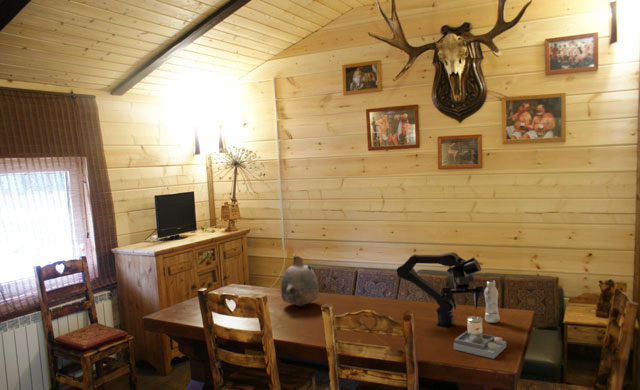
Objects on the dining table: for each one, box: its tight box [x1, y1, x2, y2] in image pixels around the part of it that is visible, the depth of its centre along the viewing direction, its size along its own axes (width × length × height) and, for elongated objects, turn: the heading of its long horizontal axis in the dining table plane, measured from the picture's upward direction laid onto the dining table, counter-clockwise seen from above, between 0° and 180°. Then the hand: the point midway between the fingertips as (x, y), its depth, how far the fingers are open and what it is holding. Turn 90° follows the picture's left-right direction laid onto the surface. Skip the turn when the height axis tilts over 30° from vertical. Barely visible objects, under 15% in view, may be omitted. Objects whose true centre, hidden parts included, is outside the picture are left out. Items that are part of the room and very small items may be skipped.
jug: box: [280, 253, 320, 307], centre depth 270 cm, size 24×21×30 cm
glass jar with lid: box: [466, 315, 483, 343], centre depth 200 cm, size 8×6×10 cm
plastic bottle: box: [483, 280, 500, 324], centre depth 230 cm, size 6×7×20 cm
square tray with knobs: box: [453, 329, 507, 359], centre depth 201 cm, size 17×14×4 cm
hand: (465, 308), depth 213 cm, fingers open, 9 cm apart
